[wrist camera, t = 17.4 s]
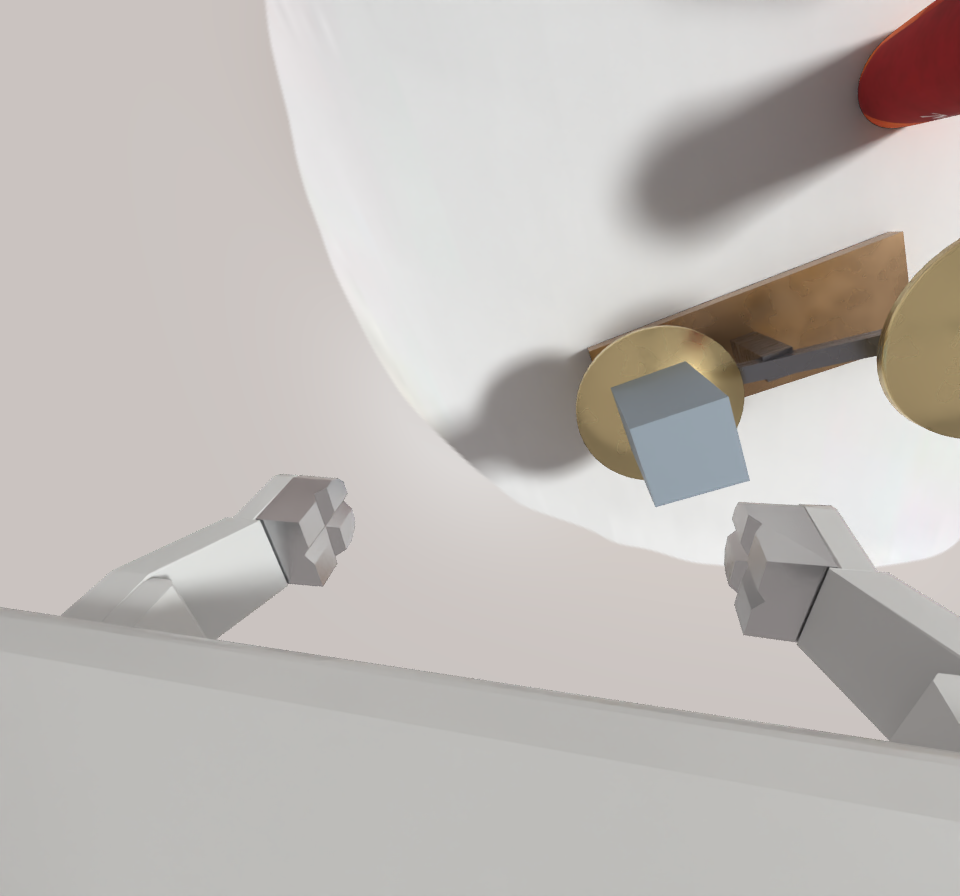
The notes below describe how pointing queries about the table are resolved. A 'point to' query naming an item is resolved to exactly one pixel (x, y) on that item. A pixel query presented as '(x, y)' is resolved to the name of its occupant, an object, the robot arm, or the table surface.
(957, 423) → the balance
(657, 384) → the block
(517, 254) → the table surface
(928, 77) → the paper cup
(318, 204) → the table surface
